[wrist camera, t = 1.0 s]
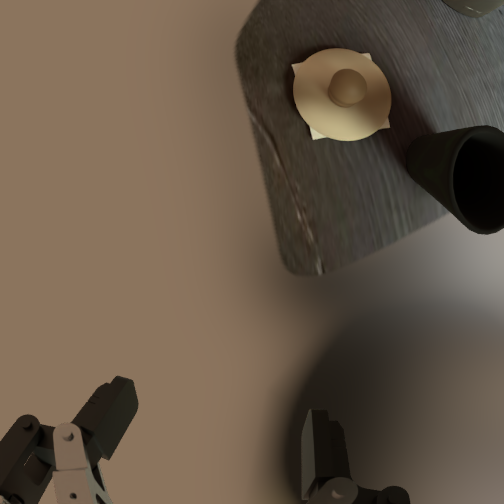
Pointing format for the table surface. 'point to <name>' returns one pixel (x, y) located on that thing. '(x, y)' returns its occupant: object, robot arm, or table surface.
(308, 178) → the table surface
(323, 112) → the lid
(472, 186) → the cup
